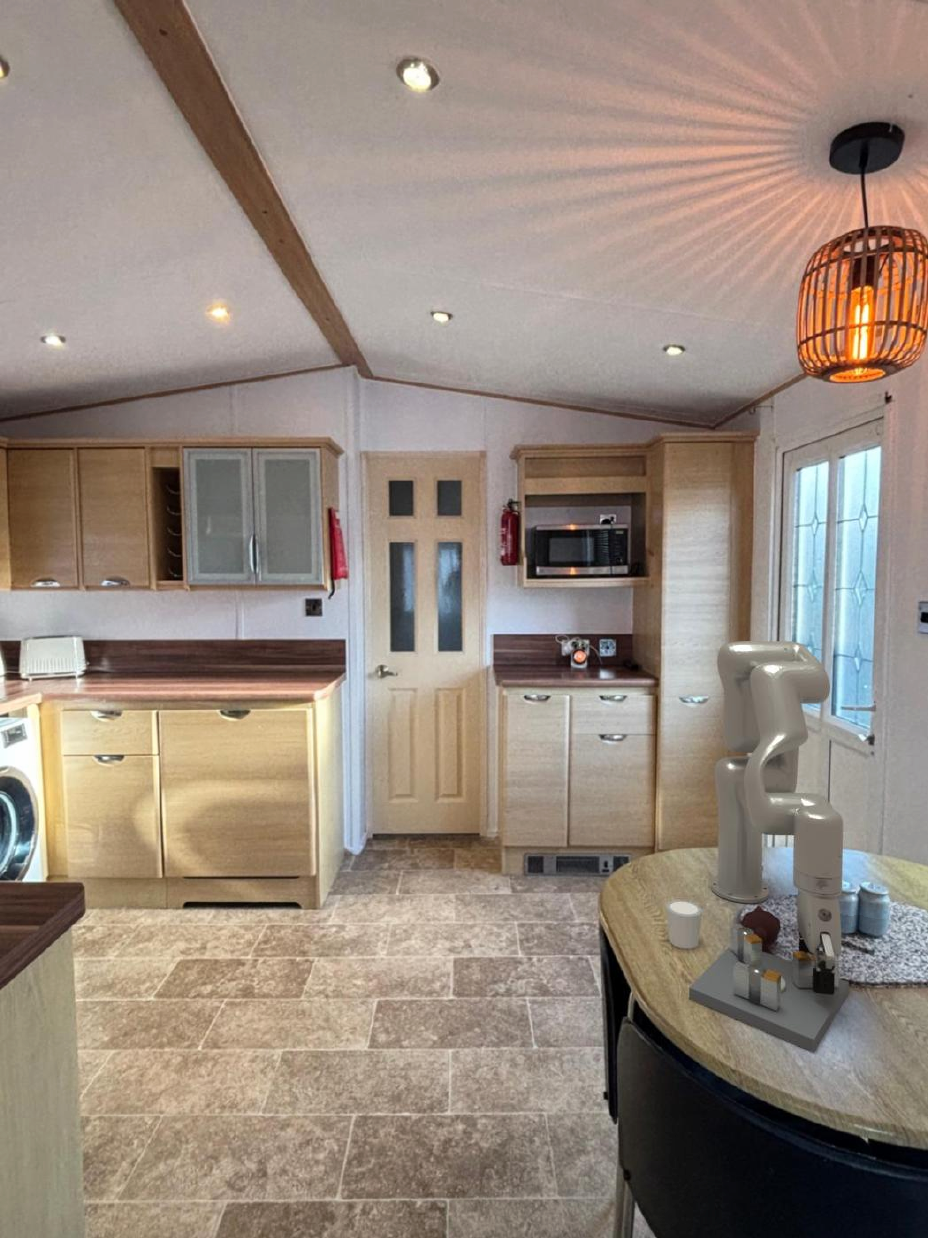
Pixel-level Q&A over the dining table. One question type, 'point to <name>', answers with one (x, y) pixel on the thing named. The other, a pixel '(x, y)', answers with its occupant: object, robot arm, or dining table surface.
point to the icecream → (763, 926)
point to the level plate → (794, 1019)
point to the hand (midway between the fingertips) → (815, 976)
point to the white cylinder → (683, 923)
